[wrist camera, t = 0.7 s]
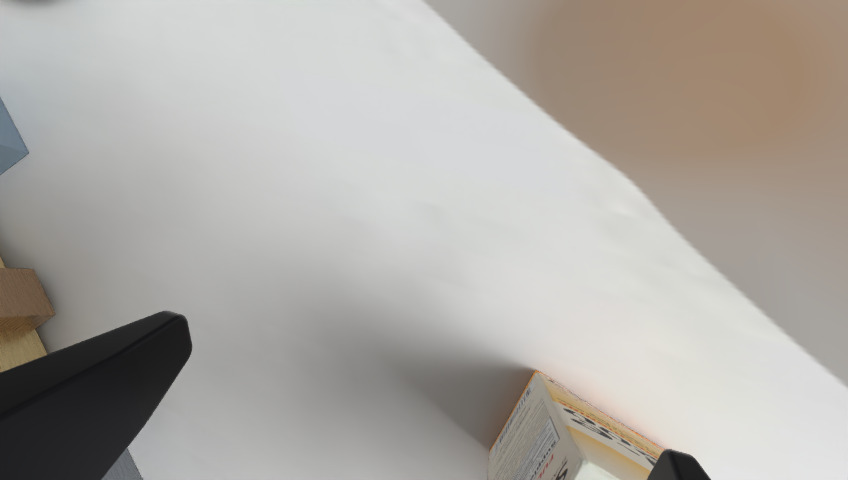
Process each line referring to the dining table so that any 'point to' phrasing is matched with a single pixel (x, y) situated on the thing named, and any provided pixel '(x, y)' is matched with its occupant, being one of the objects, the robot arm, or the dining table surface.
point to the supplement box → (566, 440)
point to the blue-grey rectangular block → (9, 141)
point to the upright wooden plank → (21, 316)
